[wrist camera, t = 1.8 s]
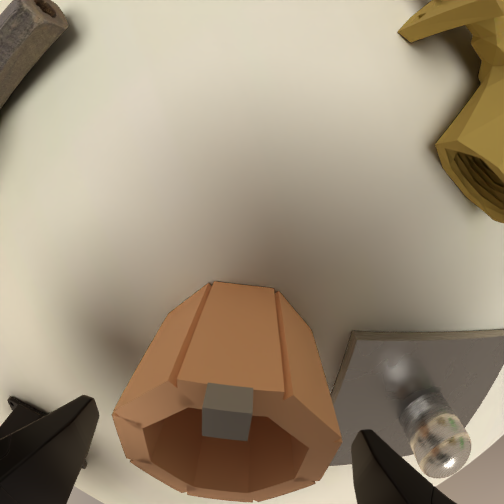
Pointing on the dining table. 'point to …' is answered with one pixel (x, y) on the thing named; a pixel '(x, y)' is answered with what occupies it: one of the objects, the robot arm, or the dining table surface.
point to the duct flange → (416, 392)
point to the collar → (230, 399)
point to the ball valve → (473, 100)
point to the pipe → (26, 39)
